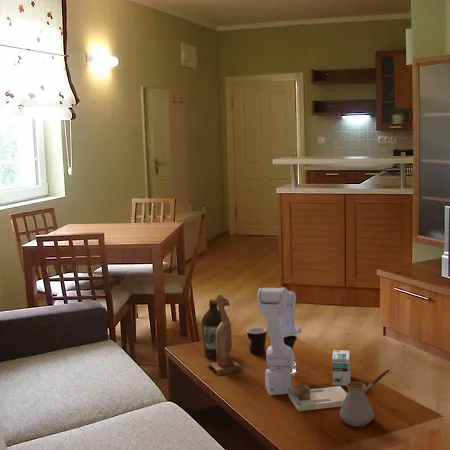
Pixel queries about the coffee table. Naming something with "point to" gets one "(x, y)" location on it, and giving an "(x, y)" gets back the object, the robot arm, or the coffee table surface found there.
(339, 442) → the coffee table surface
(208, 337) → the olive oil
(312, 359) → the coffee table surface
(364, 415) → the coffee pot
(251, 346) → the coffee mug
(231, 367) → the bird sculpture
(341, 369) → the light bulb box
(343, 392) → the trap deck
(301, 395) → the walnut block
